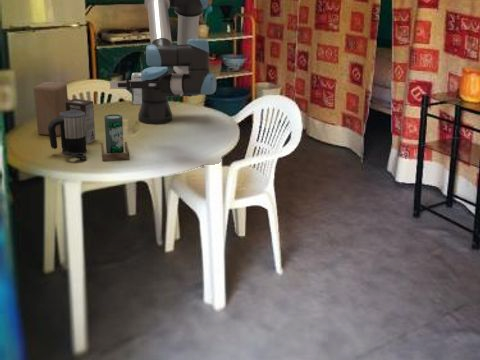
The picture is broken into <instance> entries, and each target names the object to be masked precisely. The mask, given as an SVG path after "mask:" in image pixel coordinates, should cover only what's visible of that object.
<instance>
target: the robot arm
mask: <svg viewBox="0 0 480 360" xmlns="http://www.w3.org/2000/svg"><path fill="white" fill-rule="evenodd" d="M143 1H144V2H143V3H144V8H145V9H146V11H147V15H148V16H147V17H148V26H149V27H148V28H149V37H150V38H149V39H150V41H149V42H150V44H148V45H146V47H145V58H146V59H145V61H146V65H147V66H148V67H147V68H144V69H143V70H142V71H141V72H140V73H141V80H131V79H126V80H110V81H109V89H110V90H119V89H121V90H129V89H131V90H132V89H136V88H141V89H142V104H141V105H140V108H139V112H138V116H137V117H138V121H139V122H140V123H143V124H147V125H148V124H149V125H161V124H166V123H170V122H172V121H173V113H172V112H173V111H172V110H171V107H170V102H169V97H189V98H191V97H195V96H196V97H198V96H202V95H205V96H206V95H213V94H214V93H215V92H216V91H217V77H216V74H214V73H212V72H210V48H209V41H208V40H207V39H205V38H199V30H200V29H199V27H200V25H199V24H200V16H202V15H203V14H204V10H205V9H207V8H208V4H209V3H208V0H143ZM169 9H174V13H175V14H176V15H177V39H176V40H177V43H176V44H173V43H172V35H171V34H172V32H171V26H170V25H171V24H170V17H169ZM168 67H170V68H171V67H173V68H172V69H169V68H168Z"/></svg>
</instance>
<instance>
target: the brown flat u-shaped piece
mask: <svg viewBox="0 0 480 360" xmlns="http://www.w3.org/2000/svg"><path fill="white" fill-rule="evenodd" d="M100 146H101V147H100V148H101V158H102V159H101V160H102V162H110V161H113V162H114V161H129V160H130V151H129V147H128V142H127V141H124V153H105V148H104V147H105V146H104V142H100Z"/></svg>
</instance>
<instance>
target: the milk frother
mask: <svg viewBox="0 0 480 360" xmlns="http://www.w3.org/2000/svg"><path fill="white" fill-rule="evenodd" d="M84 115H85V112H82V111H64V112H61V113H60V116H61V118H57V119H54V120H52V121H51V122H50V123H49V125H48V131H49V135H48V136H49V143H50V147H51V149H54V150H56V149H58V141H57V136H56V131H55V128H56V126H57V125H60V129H61V135H60V139H61V140H60V143H61V144H60V145H61V152H62V153H63V154H65V155H67V156H70V157H73V158H75V159H79V160H80V161H82V160H83V159H87V154H85V153H87V151H88V149H87V144H86V138H85V120H84Z"/></svg>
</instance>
